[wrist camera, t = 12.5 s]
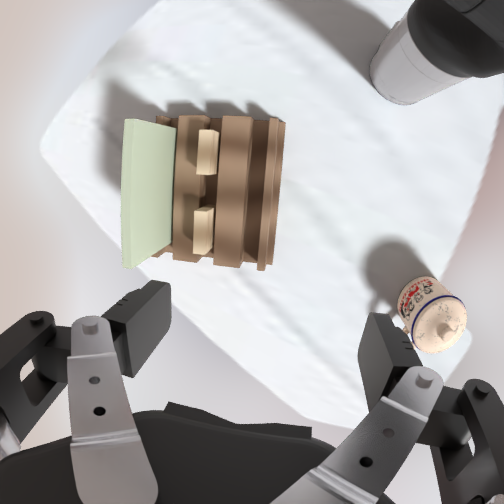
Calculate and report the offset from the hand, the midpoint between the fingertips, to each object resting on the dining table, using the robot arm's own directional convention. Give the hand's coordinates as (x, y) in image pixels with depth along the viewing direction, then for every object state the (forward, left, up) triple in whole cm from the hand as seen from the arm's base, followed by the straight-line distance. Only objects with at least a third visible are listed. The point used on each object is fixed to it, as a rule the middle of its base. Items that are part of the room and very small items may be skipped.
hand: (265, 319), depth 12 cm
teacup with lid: (+13, +23, -33) cm, 42 cm away
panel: (-2, -16, -31) cm, 35 cm away
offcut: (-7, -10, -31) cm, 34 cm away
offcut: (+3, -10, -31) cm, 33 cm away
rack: (-2, -10, -33) cm, 35 cm away
